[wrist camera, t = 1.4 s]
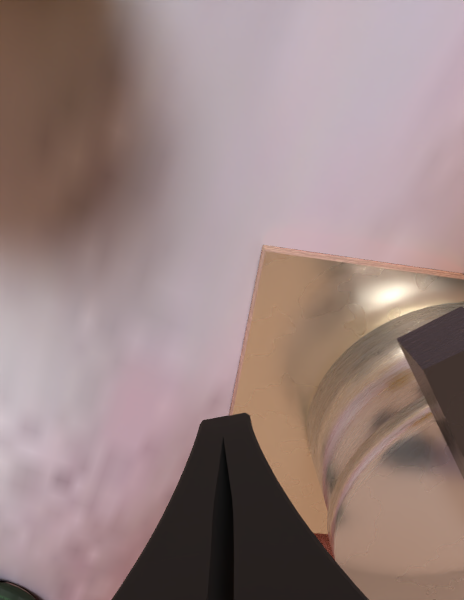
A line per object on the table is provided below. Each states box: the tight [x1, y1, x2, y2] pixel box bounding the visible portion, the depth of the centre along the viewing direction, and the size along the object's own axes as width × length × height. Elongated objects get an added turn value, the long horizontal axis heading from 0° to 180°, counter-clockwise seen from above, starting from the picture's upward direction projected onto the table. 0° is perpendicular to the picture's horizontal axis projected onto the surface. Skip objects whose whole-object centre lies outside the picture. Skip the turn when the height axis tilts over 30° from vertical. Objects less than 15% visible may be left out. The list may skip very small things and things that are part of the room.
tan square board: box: [229, 245, 464, 534], centre depth 19 cm, size 19×22×6 cm
